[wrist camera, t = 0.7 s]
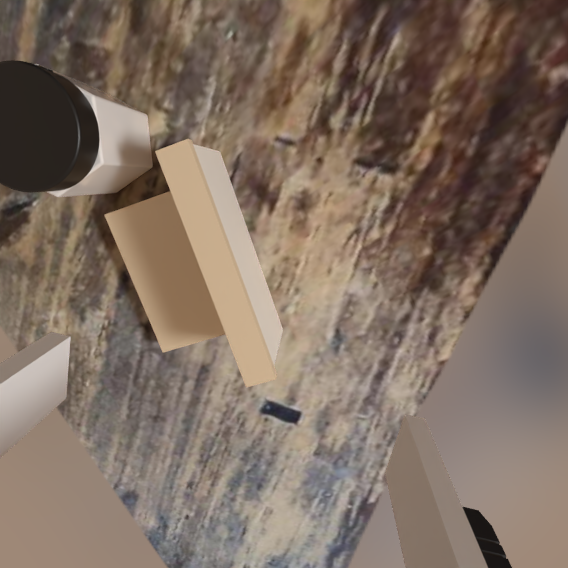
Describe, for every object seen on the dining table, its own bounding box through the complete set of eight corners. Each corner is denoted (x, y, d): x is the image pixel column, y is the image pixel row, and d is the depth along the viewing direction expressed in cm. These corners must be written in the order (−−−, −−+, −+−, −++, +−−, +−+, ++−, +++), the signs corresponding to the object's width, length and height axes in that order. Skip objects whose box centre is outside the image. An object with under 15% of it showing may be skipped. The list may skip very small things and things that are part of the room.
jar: (120, 73, 37) (29, 25, 25) (173, 154, 38) (109, 144, 27) (47, 131, 39) (-70, 111, 27) (100, 206, 40) (10, 218, 28)
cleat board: (108, 192, 40) (33, 197, 29) (224, 149, 38) (187, 138, 27) (179, 359, 43) (134, 417, 33) (287, 328, 41) (276, 379, 31)
